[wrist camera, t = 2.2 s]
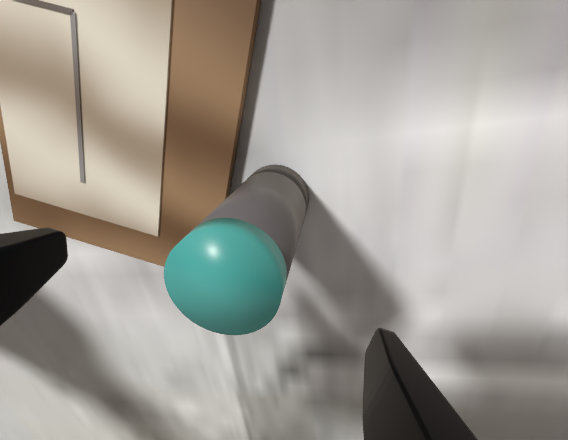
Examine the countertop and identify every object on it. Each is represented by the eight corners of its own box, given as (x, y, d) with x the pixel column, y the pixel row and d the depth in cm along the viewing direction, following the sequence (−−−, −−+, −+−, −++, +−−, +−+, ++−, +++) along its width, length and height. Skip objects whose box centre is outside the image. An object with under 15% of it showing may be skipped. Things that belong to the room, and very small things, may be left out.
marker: (299, 234, 16) (266, 348, 9) (240, 216, 16) (160, 314, 9) (316, 175, 15) (294, 254, 8) (251, 156, 15) (168, 217, 8)
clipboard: (215, 275, 18) (206, 289, 17) (23, 216, 19) (0, 225, 18) (281, -127, 11) (274, -157, 9) (-41, -196, 12) (-88, -232, 10)
